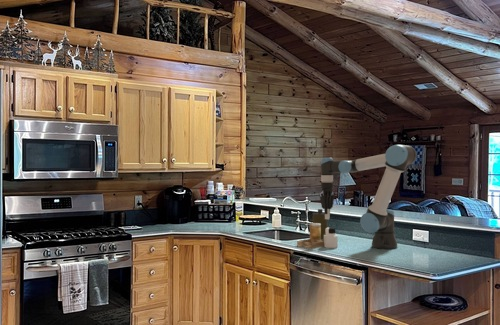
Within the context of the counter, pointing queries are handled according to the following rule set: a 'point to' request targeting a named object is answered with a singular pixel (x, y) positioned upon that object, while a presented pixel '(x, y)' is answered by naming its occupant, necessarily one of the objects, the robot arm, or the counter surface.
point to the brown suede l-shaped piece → (313, 237)
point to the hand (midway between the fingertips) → (327, 219)
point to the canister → (320, 221)
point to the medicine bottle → (330, 238)
